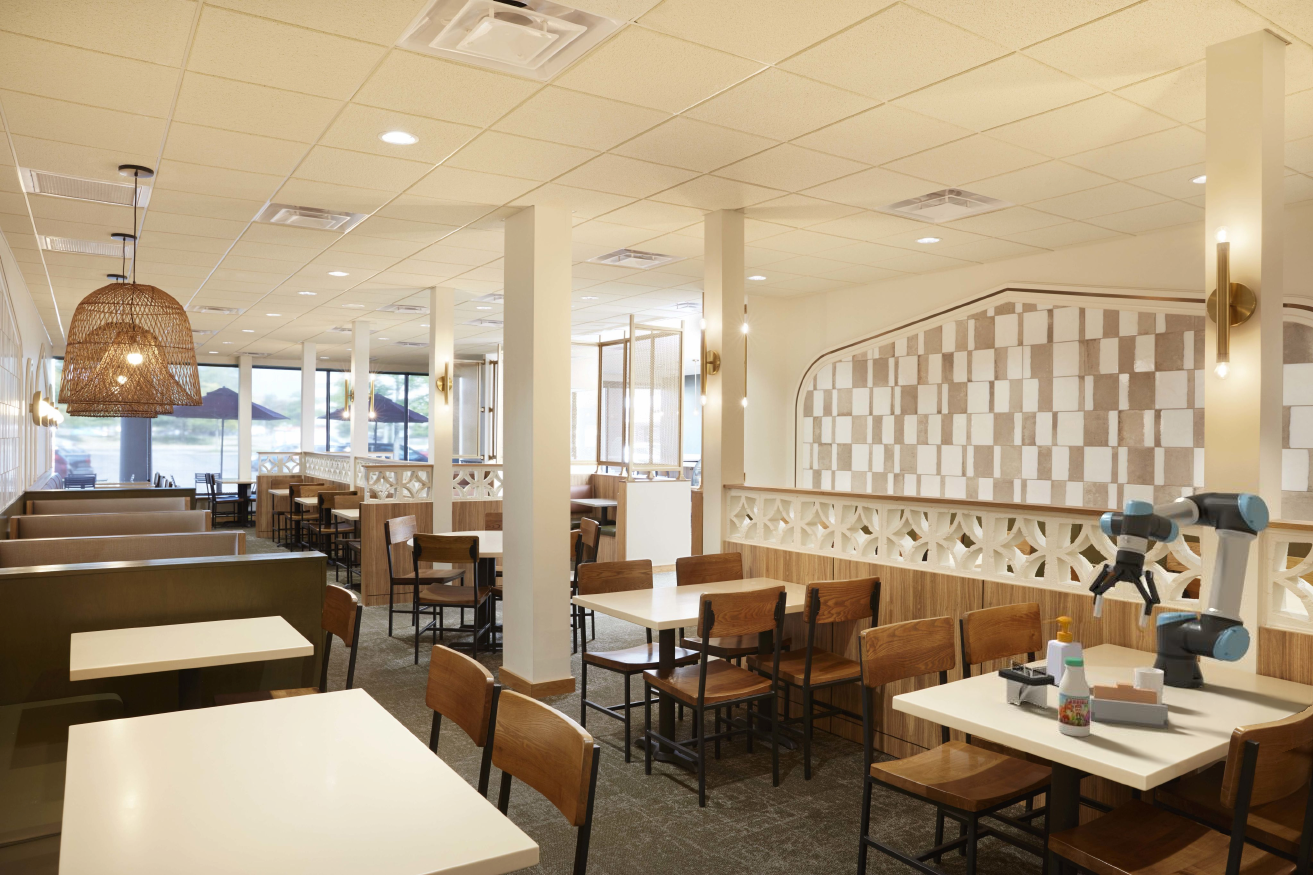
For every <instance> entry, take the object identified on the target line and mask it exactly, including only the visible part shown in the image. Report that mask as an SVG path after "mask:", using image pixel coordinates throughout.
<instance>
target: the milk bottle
mask: <svg viewBox="0 0 1313 875" xmlns="http://www.w3.org/2000/svg"><path fill="white" fill-rule="evenodd" d="M1084 663H1085V661H1084V658H1083V659H1080V658H1075V657H1067V658H1065V666H1066V670H1065V673H1064V676H1063V678H1062V680H1061V682H1060V685H1059V686H1058V704H1057V705H1058V706H1057V707H1058V711H1057V712H1058V716H1057V717H1058V719H1057V720H1058V721H1057V722H1058V723H1057V725H1058V726H1057V727H1058V731H1059V732H1060V733H1061V734H1064V735H1067V736H1072V737H1088V736H1089V735H1090V734H1091V719H1090V700H1091V696H1090V695H1091V694H1090V693H1091V692H1090V687H1089V684H1088V682H1087V680H1086V676H1085V677H1084V674H1083V668H1084V669H1085V664H1084ZM1083 665H1084V667H1083Z"/></svg>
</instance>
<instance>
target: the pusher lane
mask: <svg viewBox="0 0 1313 875" xmlns="http://www.w3.org/2000/svg"><path fill="white" fill-rule="evenodd" d="M1168 714H1169V708H1168V705H1164V704H1162V705H1156V704H1146V703H1136V702H1126V701H1116V700H1106V699H1096V698H1094V697H1090V722H1091V721H1092V722H1101V723H1111V724H1119V725H1128V726H1135V727H1136V726H1139V727H1146V728H1157V729H1164V728H1167V729H1169V715H1168ZM1167 729H1166V730H1167Z"/></svg>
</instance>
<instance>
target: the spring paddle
mask: <svg viewBox="0 0 1313 875" xmlns="http://www.w3.org/2000/svg"><path fill="white" fill-rule="evenodd" d="M1115 684H1116V685H1115V686H1113V685H1103V684H1093V698H1096V699H1106V700H1116V701H1126V702H1136V703H1146V704H1156V705H1157V691H1156V690H1147V689H1137V688H1135V685H1134V684H1133V683H1132V682H1123V681H1122V682H1121V681H1116V682H1115Z"/></svg>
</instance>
